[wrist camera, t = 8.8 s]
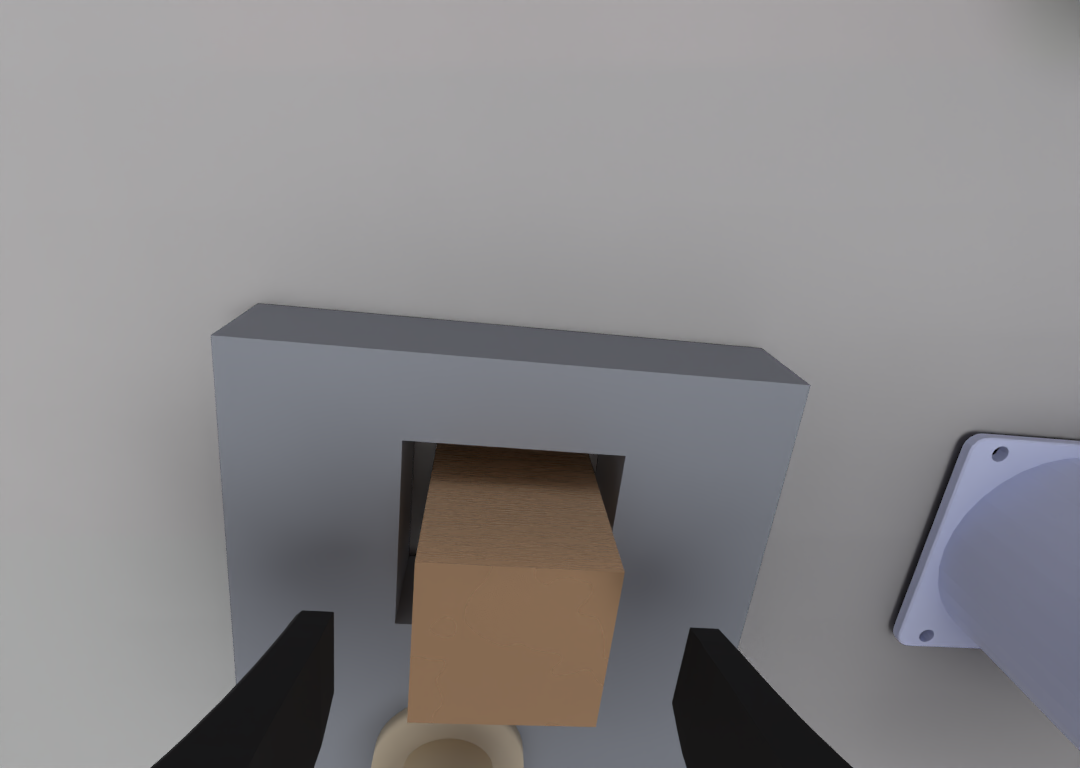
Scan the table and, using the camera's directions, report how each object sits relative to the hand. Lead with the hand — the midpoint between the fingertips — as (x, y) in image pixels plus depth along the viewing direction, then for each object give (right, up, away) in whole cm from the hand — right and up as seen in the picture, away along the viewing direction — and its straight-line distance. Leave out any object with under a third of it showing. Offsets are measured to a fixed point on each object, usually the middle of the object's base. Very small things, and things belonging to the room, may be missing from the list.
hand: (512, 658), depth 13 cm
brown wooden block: (0, +3, +7) cm, 7 cm away
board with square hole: (-1, 0, +8) cm, 8 cm away
